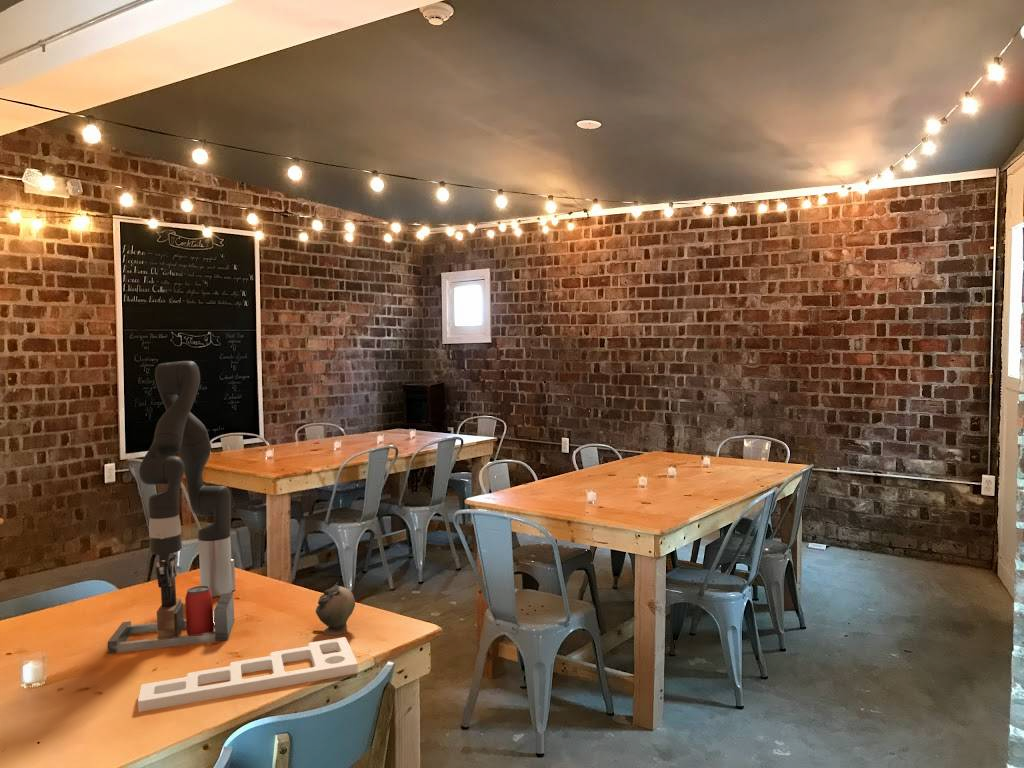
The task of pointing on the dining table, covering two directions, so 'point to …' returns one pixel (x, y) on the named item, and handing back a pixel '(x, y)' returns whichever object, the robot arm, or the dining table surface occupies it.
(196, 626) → the beer can
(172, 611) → the sliding jaw
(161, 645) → the frame
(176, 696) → the holder
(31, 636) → the dining table surface
